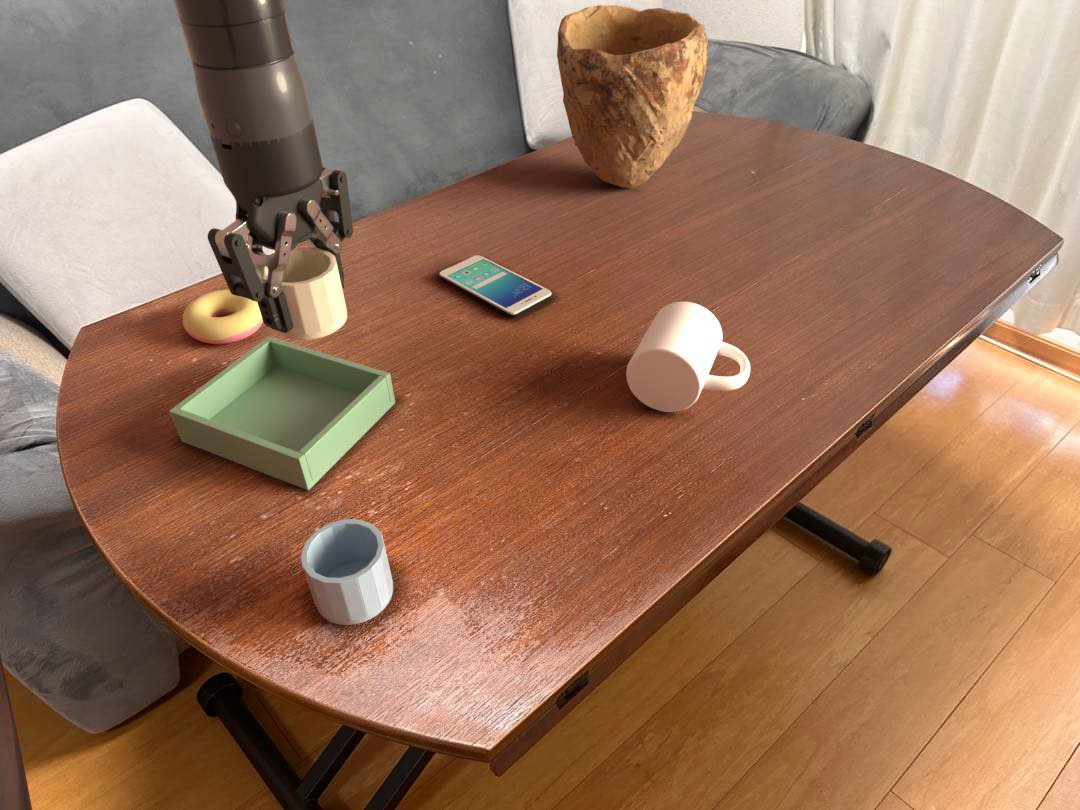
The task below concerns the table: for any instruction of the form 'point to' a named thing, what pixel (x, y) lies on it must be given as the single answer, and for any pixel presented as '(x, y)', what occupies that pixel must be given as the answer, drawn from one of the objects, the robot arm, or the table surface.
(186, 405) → the tub
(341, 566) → the gray cup
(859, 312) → the table surface
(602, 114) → the rough brown clay pot
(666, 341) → the mug
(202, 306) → the donut
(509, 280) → the smartphone
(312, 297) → the cream cup
